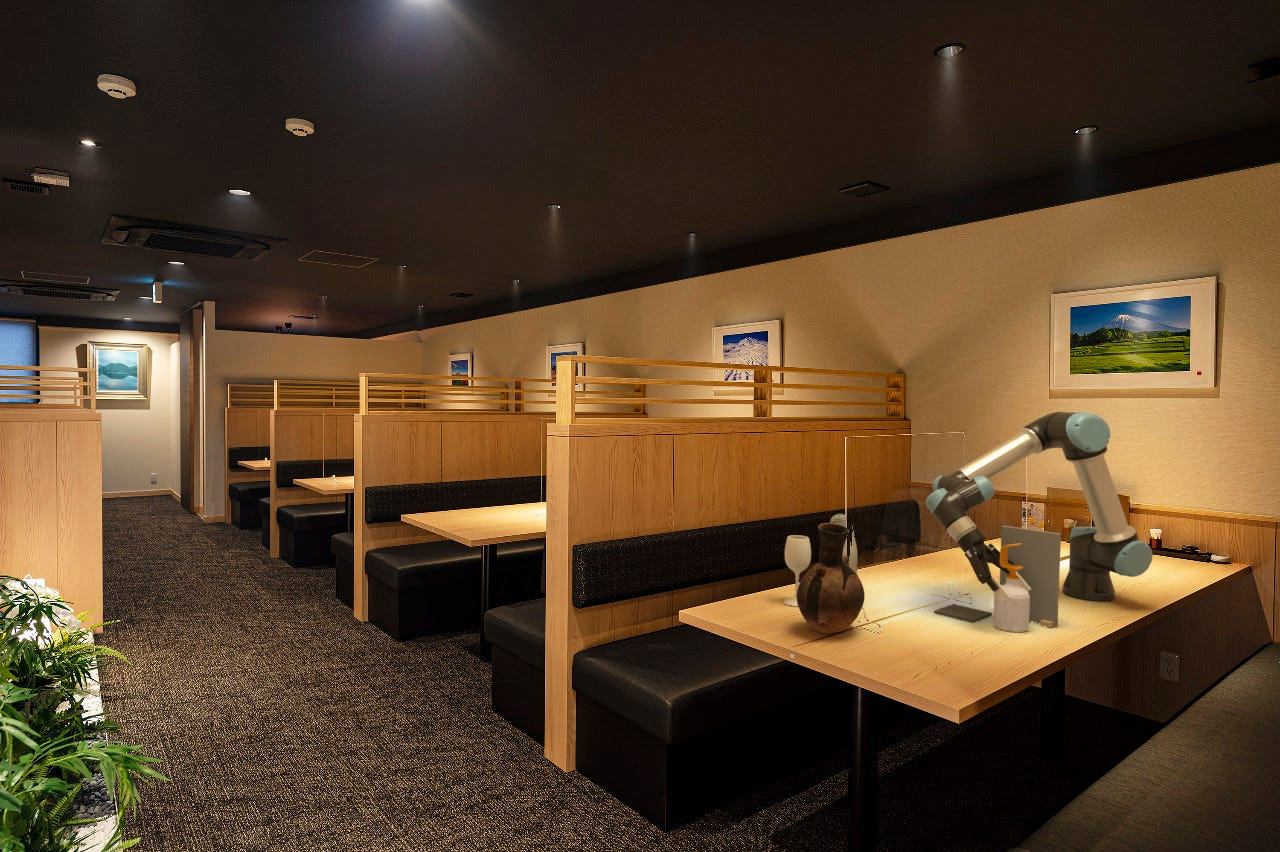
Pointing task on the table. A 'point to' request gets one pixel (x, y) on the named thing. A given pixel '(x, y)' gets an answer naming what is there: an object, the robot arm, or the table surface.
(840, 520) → the glass bottle
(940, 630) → the table surface
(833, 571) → the ceramic vessel
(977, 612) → the coaster
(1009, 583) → the soap bottle
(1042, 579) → the divider
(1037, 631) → the table surface
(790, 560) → the wineglass
